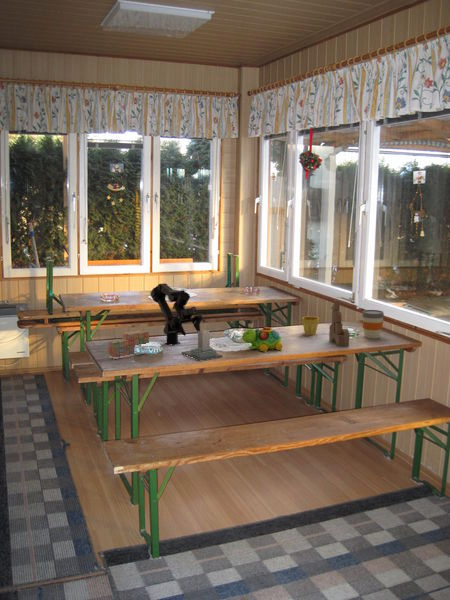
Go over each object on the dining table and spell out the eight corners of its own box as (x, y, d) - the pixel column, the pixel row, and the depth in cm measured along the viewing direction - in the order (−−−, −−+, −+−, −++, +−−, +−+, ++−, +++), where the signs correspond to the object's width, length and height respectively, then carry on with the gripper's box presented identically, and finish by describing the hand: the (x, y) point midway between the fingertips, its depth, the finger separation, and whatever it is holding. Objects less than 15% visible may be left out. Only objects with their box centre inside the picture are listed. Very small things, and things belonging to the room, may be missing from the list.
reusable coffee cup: (360, 338, 376) (361, 313, 373) (362, 333, 387) (363, 309, 385) (382, 339, 372) (383, 314, 369) (383, 334, 383) (384, 310, 381)
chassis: (181, 353, 342) (181, 347, 342) (203, 349, 350) (203, 343, 350) (199, 361, 328) (199, 354, 327) (222, 357, 336) (222, 350, 335)
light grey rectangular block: (198, 354, 338) (197, 331, 336) (205, 352, 340) (204, 330, 338) (202, 356, 334) (202, 332, 332) (209, 354, 337) (209, 331, 334)
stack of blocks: (114, 360, 331) (113, 337, 329) (108, 357, 336) (107, 335, 334) (149, 353, 344) (148, 331, 342) (143, 351, 349) (142, 329, 347)
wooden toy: (349, 346, 357) (351, 302, 353) (338, 346, 356) (339, 303, 351) (338, 339, 372) (339, 297, 367) (327, 340, 370) (328, 298, 366)
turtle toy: (237, 346, 357) (237, 326, 355) (274, 343, 365) (275, 323, 363) (248, 354, 342) (248, 332, 340) (287, 350, 350) (288, 329, 347)
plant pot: (314, 336, 380) (315, 320, 378) (298, 334, 385) (299, 318, 383) (321, 333, 389) (321, 317, 387) (305, 331, 394) (305, 315, 392)
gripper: (172, 304, 339) (183, 328, 332) (201, 300, 350) (212, 323, 343) (164, 316, 347) (175, 339, 340) (193, 311, 357) (204, 334, 351)
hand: (192, 334), depth 343 cm, fingers open, 9 cm apart
